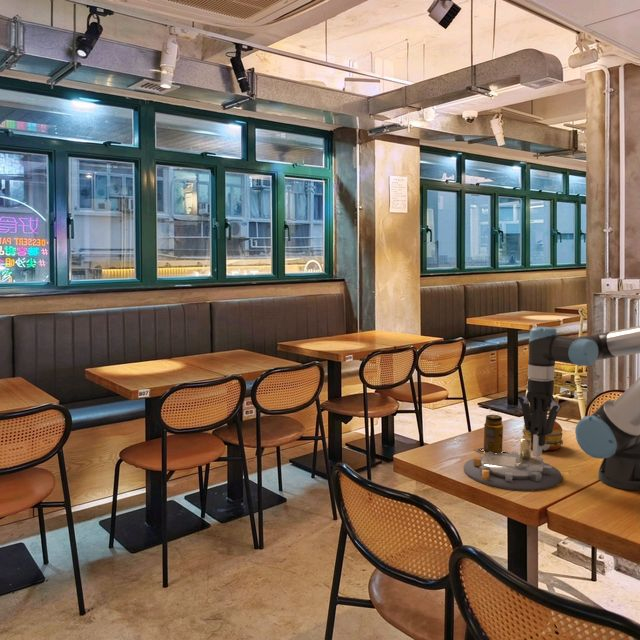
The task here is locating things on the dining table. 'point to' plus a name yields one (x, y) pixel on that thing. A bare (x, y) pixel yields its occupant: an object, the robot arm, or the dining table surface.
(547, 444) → the burger
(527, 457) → the grey disc with blocks
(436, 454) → the dining table surface
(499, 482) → the base
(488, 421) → the condiment
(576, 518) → the dining table surface
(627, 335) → the robot arm
